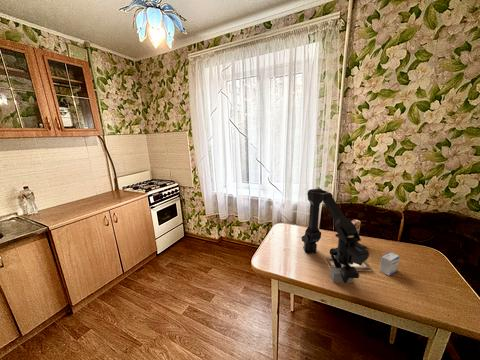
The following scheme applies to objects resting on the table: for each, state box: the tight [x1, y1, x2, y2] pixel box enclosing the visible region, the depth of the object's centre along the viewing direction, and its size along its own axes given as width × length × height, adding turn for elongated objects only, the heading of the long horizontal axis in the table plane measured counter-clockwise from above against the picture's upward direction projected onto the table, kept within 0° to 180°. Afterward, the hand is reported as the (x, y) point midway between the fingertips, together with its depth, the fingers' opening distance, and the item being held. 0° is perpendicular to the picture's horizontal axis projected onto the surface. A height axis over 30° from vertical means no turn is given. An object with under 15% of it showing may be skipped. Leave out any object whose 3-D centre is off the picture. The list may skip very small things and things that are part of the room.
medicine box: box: [379, 252, 401, 277], centre depth 100 cm, size 8×4×9 cm, turn 117°
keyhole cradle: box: [324, 256, 373, 272], centre depth 106 cm, size 20×9×2 cm, turn 85°
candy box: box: [348, 219, 361, 238], centre depth 124 cm, size 9×4×15 cm, turn 123°
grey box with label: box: [329, 268, 354, 284], centre depth 96 cm, size 9×4×5 cm, turn 85°
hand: (341, 277), depth 96 cm, fingers open, 7 cm apart
